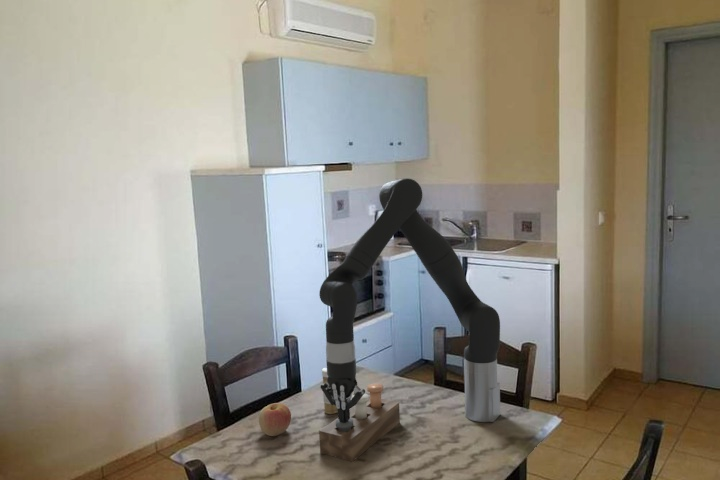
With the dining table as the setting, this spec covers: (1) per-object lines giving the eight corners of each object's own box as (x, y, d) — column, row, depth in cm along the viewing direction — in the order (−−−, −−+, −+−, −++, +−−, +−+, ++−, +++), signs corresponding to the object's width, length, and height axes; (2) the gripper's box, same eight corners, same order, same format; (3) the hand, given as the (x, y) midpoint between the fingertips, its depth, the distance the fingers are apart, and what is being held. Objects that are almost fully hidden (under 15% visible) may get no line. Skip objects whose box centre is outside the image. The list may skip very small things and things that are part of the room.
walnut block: (399, 422, 170) (399, 402, 169) (352, 461, 149) (351, 438, 148) (369, 415, 175) (369, 396, 174) (320, 452, 154) (319, 430, 153)
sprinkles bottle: (333, 407, 183) (330, 365, 181) (342, 411, 179) (340, 368, 177) (321, 411, 180) (318, 368, 178) (330, 416, 176) (327, 372, 175)
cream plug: (372, 419, 162) (371, 394, 161) (364, 426, 158) (362, 401, 157) (358, 416, 165) (357, 392, 164) (349, 422, 161) (348, 398, 160)
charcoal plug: (357, 445, 156) (356, 419, 155) (348, 452, 152) (346, 426, 151) (343, 441, 158) (342, 416, 158) (333, 448, 155) (332, 423, 154)
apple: (297, 428, 169) (295, 401, 168) (280, 442, 161) (278, 414, 160) (271, 424, 173) (269, 397, 172) (253, 437, 165) (251, 410, 164)
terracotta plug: (387, 408, 169) (386, 384, 168) (379, 414, 165) (378, 390, 164) (373, 405, 171) (372, 382, 170) (365, 411, 167) (363, 387, 167)
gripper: (370, 356, 152) (373, 420, 154) (328, 349, 159) (331, 411, 161) (354, 365, 145) (357, 432, 148) (311, 357, 153) (314, 422, 155)
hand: (344, 421), depth 154 cm, fingers closed
